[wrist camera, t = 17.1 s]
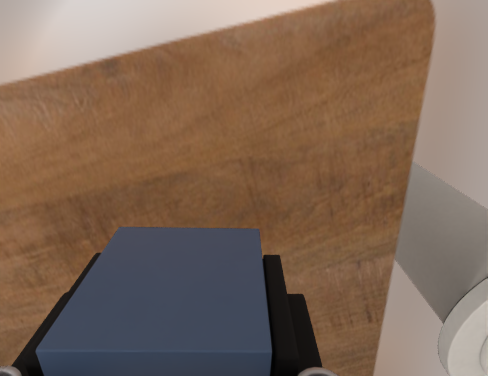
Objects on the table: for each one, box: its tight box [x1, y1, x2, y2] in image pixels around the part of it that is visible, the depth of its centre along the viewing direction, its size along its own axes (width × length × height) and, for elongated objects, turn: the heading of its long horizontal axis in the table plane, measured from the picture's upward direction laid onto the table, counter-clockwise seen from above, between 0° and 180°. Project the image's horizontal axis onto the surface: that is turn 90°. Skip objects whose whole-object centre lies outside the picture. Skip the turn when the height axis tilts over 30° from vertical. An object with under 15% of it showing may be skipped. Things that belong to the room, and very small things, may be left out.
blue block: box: [36, 227, 272, 376], centre depth 9 cm, size 5×5×5 cm
